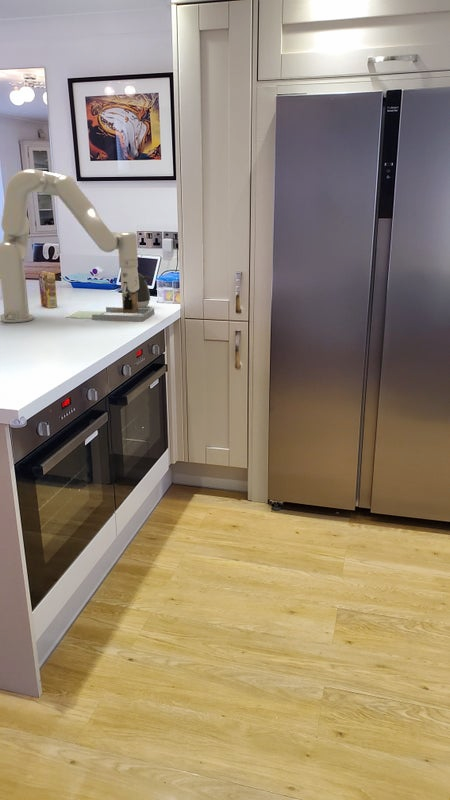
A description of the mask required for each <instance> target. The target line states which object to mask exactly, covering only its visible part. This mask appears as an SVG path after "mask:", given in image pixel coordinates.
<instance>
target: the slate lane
mask: <svg viewBox="0 0 450 800" xmlns="http://www.w3.org/2000/svg"><path fill="white" fill-rule="evenodd" d="M111 309H113V310H123V307H119V306H118V307H114V306H105V312H106V313H112V312H111ZM114 313H115V314H102V315H99V314H93V315H92V319H91V320H92V321H93V320H94V321H116V322H117V321H118V322H121V321H122V322H144V321H145V320H147V319H148V318H150V317H152V315H154V314H155V308H147V307H145V308H138V312H137V313H136V314H141V315H124V313H123V312H114ZM116 313H118V314H116ZM120 313H121V314H120Z"/></svg>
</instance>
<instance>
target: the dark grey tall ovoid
mask: <svg viewBox="0 0 450 800" xmlns="http://www.w3.org/2000/svg"><path fill="white" fill-rule="evenodd" d="M138 278H139V290H137V291H136V292H138V308H147V307H148V306H149V305H150V304H149V303H150V300H151V293H150V290H149V286H148V283H147V281H146V280H148V279H149V278H150V276H149V275H146V276H144V275H142V274H141V273H139V272H138ZM127 292H129V291H127Z"/></svg>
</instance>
